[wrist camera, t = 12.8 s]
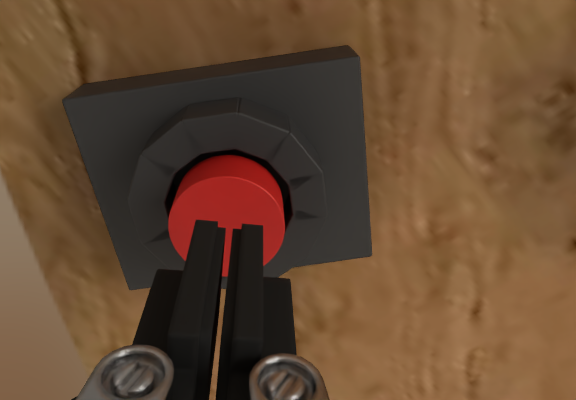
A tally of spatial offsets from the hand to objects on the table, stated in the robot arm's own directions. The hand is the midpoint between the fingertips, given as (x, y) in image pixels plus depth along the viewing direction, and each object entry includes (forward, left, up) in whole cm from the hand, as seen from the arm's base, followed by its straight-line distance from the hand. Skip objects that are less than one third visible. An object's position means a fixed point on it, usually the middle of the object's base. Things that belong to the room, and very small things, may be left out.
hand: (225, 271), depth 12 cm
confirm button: (0, 0, -5) cm, 5 cm away
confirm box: (0, 0, -8) cm, 8 cm away
